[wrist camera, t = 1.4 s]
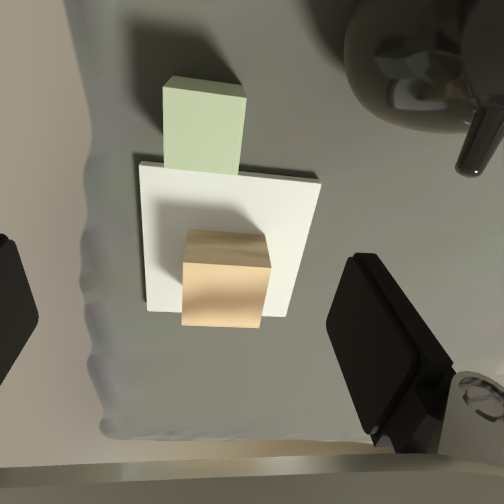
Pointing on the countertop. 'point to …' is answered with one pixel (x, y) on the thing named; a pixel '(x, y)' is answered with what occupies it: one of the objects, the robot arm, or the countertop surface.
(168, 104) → the sage cube
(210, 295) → the oak block
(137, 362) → the countertop surface
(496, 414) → the robot arm
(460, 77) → the pump dispenser
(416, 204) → the countertop surface
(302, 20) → the countertop surface
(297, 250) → the building board
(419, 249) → the countertop surface
